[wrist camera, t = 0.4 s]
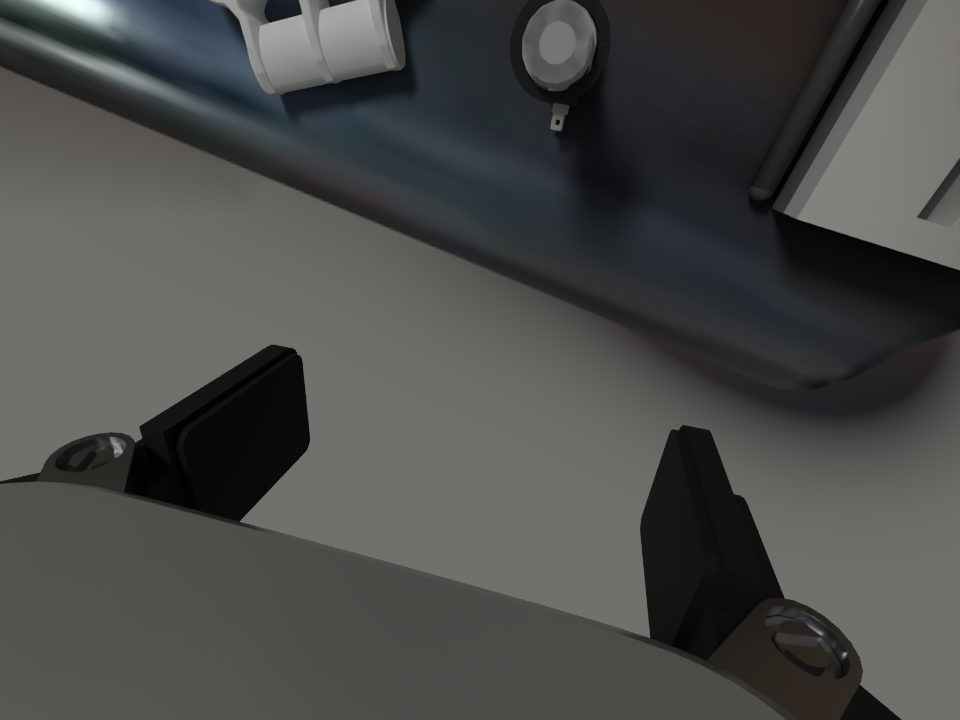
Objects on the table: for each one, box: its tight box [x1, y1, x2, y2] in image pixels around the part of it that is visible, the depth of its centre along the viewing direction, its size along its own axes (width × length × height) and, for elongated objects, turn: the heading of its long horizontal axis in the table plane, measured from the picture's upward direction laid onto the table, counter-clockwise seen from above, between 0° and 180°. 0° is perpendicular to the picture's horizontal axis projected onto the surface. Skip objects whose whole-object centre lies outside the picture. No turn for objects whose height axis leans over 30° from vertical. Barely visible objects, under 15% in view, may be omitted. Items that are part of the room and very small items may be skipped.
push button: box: [510, 0, 610, 131], centre depth 29 cm, size 7×5×10 cm
